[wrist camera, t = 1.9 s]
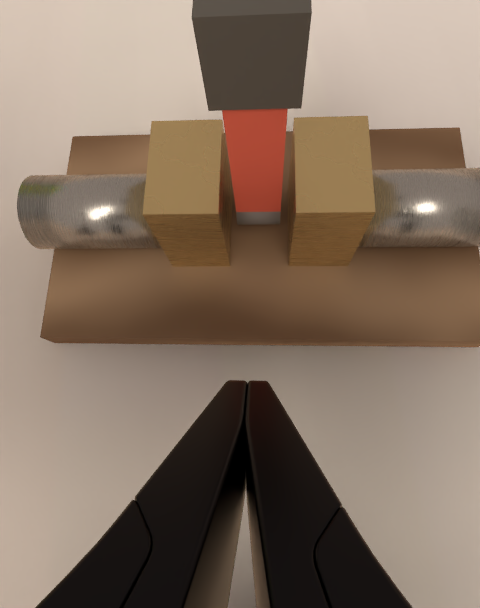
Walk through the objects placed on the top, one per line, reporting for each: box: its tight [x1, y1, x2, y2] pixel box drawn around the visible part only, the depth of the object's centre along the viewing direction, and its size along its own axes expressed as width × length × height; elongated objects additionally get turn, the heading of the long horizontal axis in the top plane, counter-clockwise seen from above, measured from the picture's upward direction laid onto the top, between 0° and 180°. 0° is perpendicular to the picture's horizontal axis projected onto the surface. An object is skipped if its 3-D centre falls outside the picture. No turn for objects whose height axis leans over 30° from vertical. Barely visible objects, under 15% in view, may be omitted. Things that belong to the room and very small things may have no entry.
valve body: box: [17, 116, 480, 267], centre depth 19 cm, size 4×22×6 cm, turn 89°
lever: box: [192, 0, 312, 225], centre depth 15 cm, size 2×3×11 cm
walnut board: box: [40, 128, 480, 347], centre depth 23 cm, size 12×22×2 cm, turn 89°
